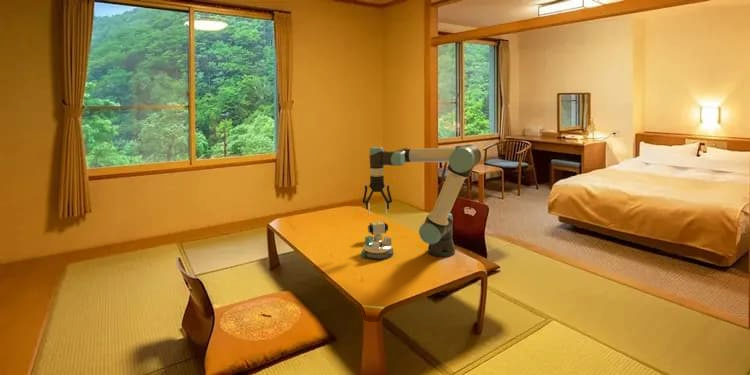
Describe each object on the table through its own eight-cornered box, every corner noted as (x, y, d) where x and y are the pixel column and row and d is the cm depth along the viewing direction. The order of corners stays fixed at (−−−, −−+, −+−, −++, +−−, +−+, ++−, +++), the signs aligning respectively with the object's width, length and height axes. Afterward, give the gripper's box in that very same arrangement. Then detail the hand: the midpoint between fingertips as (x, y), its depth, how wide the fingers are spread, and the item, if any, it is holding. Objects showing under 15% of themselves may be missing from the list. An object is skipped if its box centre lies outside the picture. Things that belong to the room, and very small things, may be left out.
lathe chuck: (397, 247, 236) (397, 237, 234) (380, 256, 223) (380, 245, 222) (375, 242, 245) (375, 232, 244) (357, 250, 233) (357, 240, 232)
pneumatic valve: (388, 240, 258) (388, 221, 256) (370, 242, 255) (369, 223, 252) (385, 237, 263) (385, 219, 261) (367, 239, 260) (367, 221, 258)
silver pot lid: (399, 253, 236) (399, 246, 236) (379, 263, 222) (379, 256, 222) (375, 247, 247) (375, 240, 246) (354, 256, 233) (354, 249, 232)
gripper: (396, 173, 235) (397, 212, 239) (357, 174, 236) (359, 213, 241) (396, 176, 227) (397, 216, 232) (356, 176, 229) (357, 216, 233)
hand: (377, 214), depth 236 cm, fingers open, 9 cm apart
